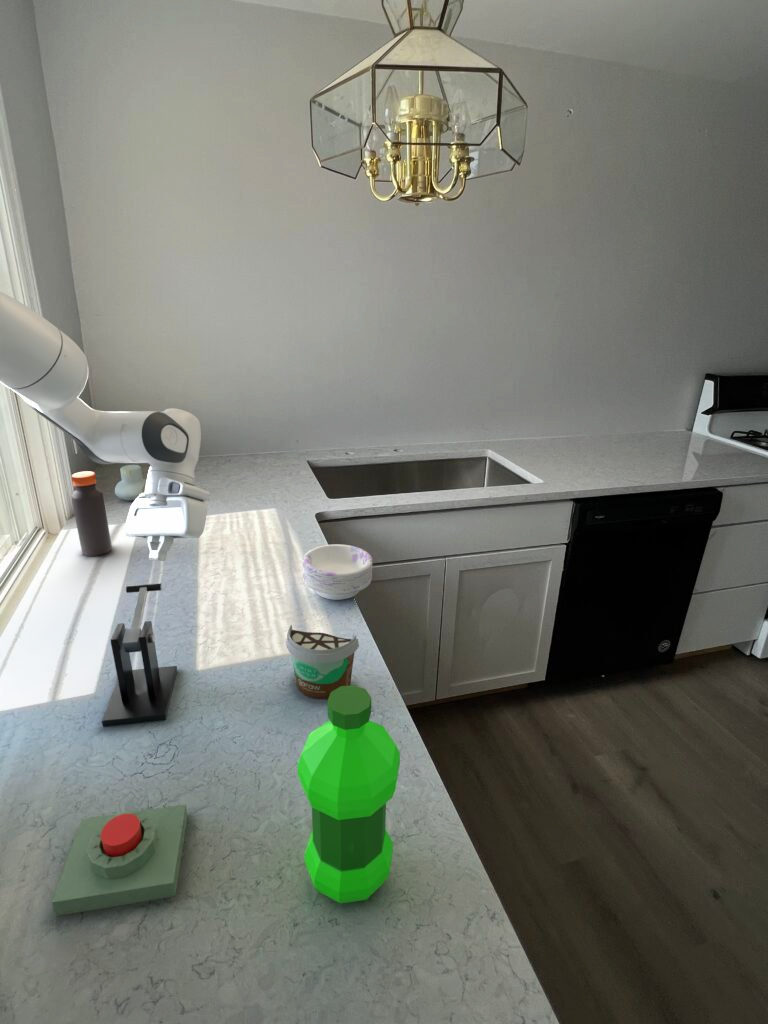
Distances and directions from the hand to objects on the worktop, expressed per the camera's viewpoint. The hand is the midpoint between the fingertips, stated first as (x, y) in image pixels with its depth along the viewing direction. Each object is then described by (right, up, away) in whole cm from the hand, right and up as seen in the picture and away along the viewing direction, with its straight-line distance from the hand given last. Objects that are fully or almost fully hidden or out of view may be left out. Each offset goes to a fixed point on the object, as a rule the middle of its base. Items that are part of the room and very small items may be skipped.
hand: (156, 560), depth 107 cm
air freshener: (-34, +14, +66) cm, 76 cm away
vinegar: (-28, 0, +31) cm, 42 cm away
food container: (+33, -21, -15) cm, 42 cm away
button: (+14, -28, -44) cm, 54 cm away
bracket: (+5, -21, -17) cm, 27 cm away
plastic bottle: (+40, -32, -44) cm, 68 cm away
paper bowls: (+34, -8, +16) cm, 38 cm away
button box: (+14, -31, -43) cm, 55 cm away
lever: (+4, -8, -17) cm, 19 cm away
